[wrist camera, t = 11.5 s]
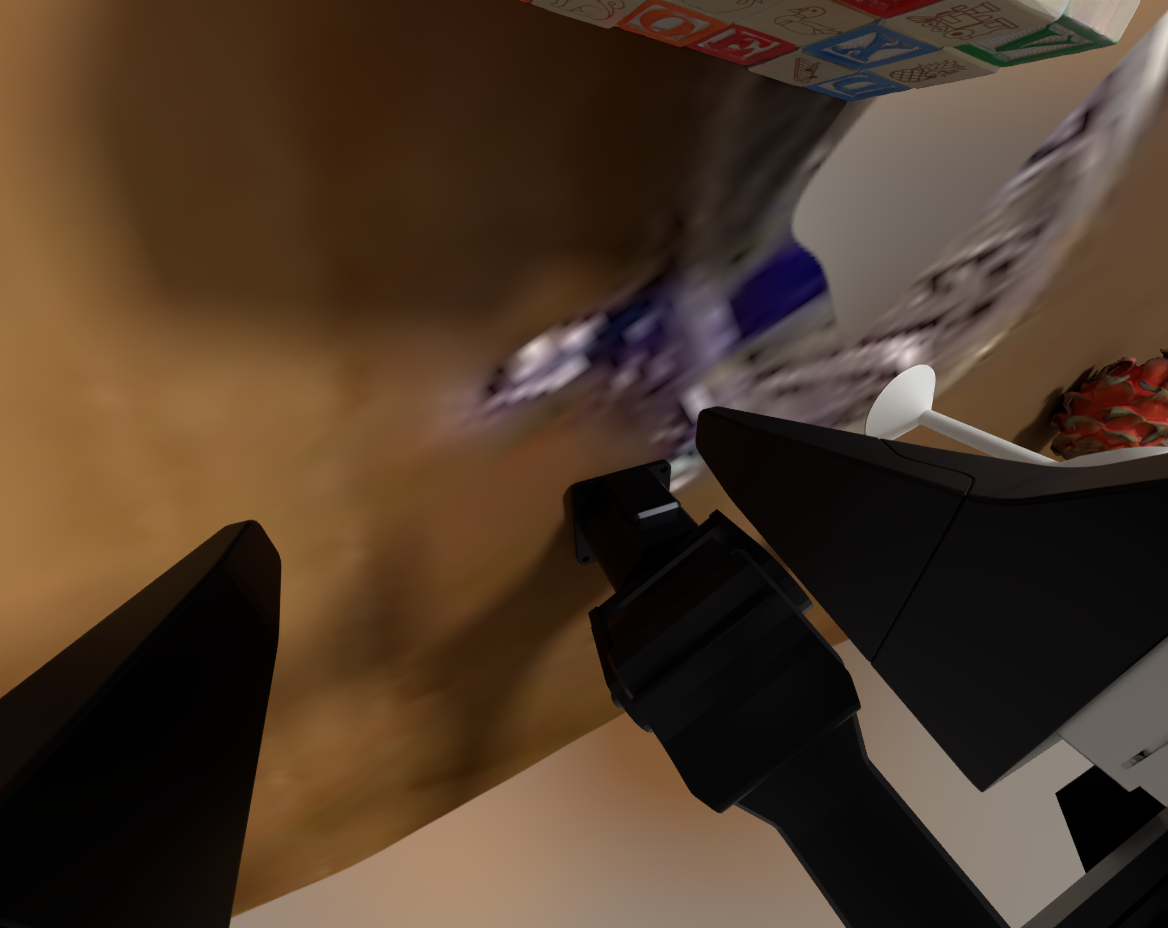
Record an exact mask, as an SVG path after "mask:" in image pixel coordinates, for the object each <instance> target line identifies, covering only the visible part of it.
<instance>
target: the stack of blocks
mask: <svg viewBox="0 0 1168 928" xmlns="http://www.w3.org/2000/svg"><path fill="white" fill-rule="evenodd" d="M519 1H522V2H528V3H531V4H533V5H535V6H538V7H541V8H544V9H547V10H549V11H552V12H555V13H558V14H561V15H564V16H568V17H571V18H574V19H577V20H580V21H584V22H587V23H590V24H594V25H597V26H600V27H603V28H612V27H613V26H616V27H619V28H621V29H623V30H625V31H630V32H634V33H637V34H642V35H644V36H647V37H649V38H652V39H656V40H659V41H662V42H665V43H668V44H671V45H675V46H678V47H683V46H687V47H688V48H691V49H694V50H697V51H700V52H703V53H705V54H709V55H712V56H715V57H719V58H723V59H726V60H728V61H732V62H735V63H737V64H741V65H747V68H748V70H749V71H751V72H754V73H757V74H760V75H764V76H767V77H770V78H773V79H776V80H779V81H782V82H785V83H788V84H791V85H794V86H799V87H805V88H808V89H810V90H813V91H817V92H819V93H823V94H826V95H830V96H833V97H836V98H840V99H843V100H846V101H854V100H860V99H865V98H869V97H873V96H880V95H885V94H889V93H894V92H901V91H905V90H910V89H912V88H916V89H919V88H924V87H929V86H934V85H940V84H945V83H951V82H956V81H960V80H965V79H970V78H975V77H980V76H986V75H989V74H993V73H996V72H997V71H998V70H999V68H1000V67H1007V66H1014V65H1019V64H1023V63H1030V62H1034V61H1039V60H1043V59H1048V58H1053V57H1058V56H1063V55H1069V54H1075V53H1080V52H1084V51H1088V50H1092V49H1098V48H1103V47H1107V46H1110V45H1114V44H1116V43H1117V42H1118V40H1119V39H1120V37H1121V35H1122V34H1123V32H1124V30H1125V29H1126V27H1127V25H1128V23H1129V21H1130V20H1131V18H1132V16H1133V14H1134V12H1135V11H1136V9H1137V7H1138V5H1139V3H1140V1H1141V0H519Z"/></svg>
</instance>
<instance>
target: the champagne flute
mask: <svg viewBox="0 0 1168 928" xmlns="http://www.w3.org/2000/svg"><path fill="white" fill-rule="evenodd" d="M934 387H935V373H934V371H933V369H932V368H931V367H929V366H927V365H917V366H913V367H911V368H909V369H907V370H905V371H904V372H902V373H901V374H899V375H898V376H897V377H896V378H894V379H893V380H892V381H891V382H890V383H889V384H888V385H887V386H886V387H885V389H884V390H883V391H882V392H881V394H880V395H879V396H878V398H877V399H876V401H875V402H874V404H873V406H872V408H871V410H870V412H869V415H868V418H867V422H866V431H865V432H866V435H867V436H873V437H877V438H878V439H881V438H883V439H888V440H894V439H896V438H898V437H899V436H901V435H903V434H904V433H906V432H908V431H910V430H911V429H913V428H915V427H917V426H918V425H920V424H921V425H923V426H926V427H928V428H930V429H932V430H935V431H937V432H939V433H941V434H944V435H946V436H948V437H951V438H953V439H955V440H957V441H960V442H962V443H964V444H966V445H969V446H971V447H973V448H975V449H978V450H980V451H982V452H984V453H987V454H989V455H991V456H994V457H996V458H1000V459H1006V460H1012V461H1019V462H1025V463H1032V464H1038V465H1046V466H1054V467H1090V466H1100V465H1106V464H1112V463H1117V462H1122V461H1128V460H1133V459H1138V458H1143V457H1148V456H1154V455H1159V454H1164V453H1168V447H1155V446H1148V447H1133V448H1122V449H1117V450H1111V451H1106V452H1100V453H1095V454H1089V455H1084V456H1078V457H1075V458H1073V459H1070V460H1067V461H1064V462H1061V463H1059V462H1057V461H1055V460H1052V459H1050V458H1047V457H1045V456H1042V455H1040V454H1037V453H1035V452H1032V451H1030V450H1028V449H1025V448H1023V447H1020V446H1018V445H1015V444H1013V443H1010V442H1008V441H1005V440H1003V439H1001V438H998V437H996V436H993V435H991V434H988V433H986V432H983V431H981V430H978V429H976V428H974V427H971V426H969V425H966V424H964V423H961V422H959V421H956V420H954V419H951V418H949V417H947V416H944V415H942V414H939V413H937V412H934V411H932V410H931V407H932V400H933V394H934Z"/></svg>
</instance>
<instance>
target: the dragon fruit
mask: <svg viewBox="0 0 1168 928" xmlns="http://www.w3.org/2000/svg"><path fill="white" fill-rule="evenodd" d="M1160 351H1161V353H1163V354H1164V355H1163V357H1156V358H1155V359H1153V358H1152V359H1150V360H1148V361H1147V362H1146V363H1145V364H1143V365H1141V366H1140V367H1138V366H1136V359H1135V358H1131V357H1123V358H1122V359H1121V360H1117V361H1118V362H1117V363H1115V362H1114V363H1113V365H1112V364H1111V365H1107V366H1106V367H1104V368H1103V369H1102V370H1101V371H1100V372H1099V373H1098V374H1097V375H1096V376H1095V377H1094V378H1092V379H1089V380H1087V381H1086V382H1084V383H1083V384H1082V386H1081V388H1080V391H1079V393H1078V392H1067V393H1065V394H1064V402H1063V406H1064V407H1065V409H1066V410H1065V411H1061V412H1058V413H1056V414H1054V416H1053V417H1052V419H1051V422H1050V424H1051V425H1052V427H1054V428H1058V430H1059V431H1060V432H1061V433H1060V434H1058V435H1057V436H1056V437H1055V438H1054V439H1053V441H1052V445H1051V447H1050V449H1051V450H1052V451H1053V453H1054V454H1055V455H1056V456H1060V455H1061V456H1062V457H1063V458H1064V459H1066V460H1070V459H1073V458H1075V457H1078V456H1084V455H1089V454H1095V453H1100V452H1106V451H1111V450H1117V449H1122V448H1133V447H1148V446H1155V447H1168V446H1167V445H1166V444H1164V442H1163V441H1164V440H1167V439H1168V350H1167V349H1160ZM1118 366H1119V367H1118ZM1117 367H1118V368H1117ZM1115 368H1116V369H1115ZM1114 369H1115V370H1114ZM1112 370H1114V371H1112ZM1111 371H1112V372H1111ZM1110 372H1111V373H1110ZM1108 373H1109V374H1108ZM1105 374H1107V375H1105ZM1102 376H1103V377H1102ZM1101 377H1102V378H1101Z"/></svg>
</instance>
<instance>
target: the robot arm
mask: <svg viewBox="0 0 1168 928" xmlns="http://www.w3.org/2000/svg"><path fill="white" fill-rule="evenodd" d="M695 442H696V448H697V450H698V452H699V453H700V455H701V456H702V458H703V459H704V461H705V462H706V464H707V465H708V467H709V468H710V470H711V471H712V473H713V474H714V476H715V477H716V479H717V480H718V481H719V483H720V484H721V486H722V487H723V489H724V490H725V492H726V493H727V494H728V496H729V497H730V499H731V500H732V501H733V502H734V503H735V505H736V506H737V507H738V508H739V509H740V511H741V512H742V513H743V514H744V515H745V517H746V518H747V519H748V520H749V521H750V522H751V524H752V525H753V526H754V527H755V528H756V529H757V531H758V532H759V533H760V534H761V535H762V537H763V538H764V539H765V540H766V541H767V542H768V544H769V545H770V546H771V547H772V548H773V550H774V551H775V552H776V553H777V554H778V555H779V557H780V558H781V559H782V560H783V561H784V562H785V564H786V565H787V566H788V567H789V568H790V570H791V571H792V572H793V573H794V574H795V575H796V577H797V578H798V579H799V580H800V581H801V582H802V584H803V585H804V586H805V587H806V588H807V590H808V591H809V592H810V593H811V594H812V595H813V597H814V598H815V599H816V600H817V601H818V602H819V604H820V605H821V606H822V607H823V608H824V610H825V611H826V612H827V613H828V614H829V615H830V617H831V618H832V619H833V620H834V621H835V623H836V624H837V625H838V626H839V627H840V628H841V630H842V631H843V632H844V633H845V634H846V635H847V637H848V638H849V639H850V640H851V641H852V643H853V644H854V645H855V646H856V647H857V648H858V649H859V651H860V652H861V653H862V654H863V655H864V657H865V658H866V659H867V660H868V661H869V662H871V665H872V666H873V668H874V669H875V670H876V671H877V672H878V673H879V675H880V676H881V677H882V678H883V679H884V681H885V682H886V683H887V684H888V685H889V687H890V688H891V689H892V690H893V691H894V692H895V693H896V695H897V696H898V697H899V698H900V699H901V700H902V702H903V703H904V704H905V705H906V706H907V708H908V709H909V710H910V711H911V712H912V714H913V715H914V716H915V717H916V718H917V719H918V721H919V722H920V723H921V724H922V725H923V727H924V728H925V729H926V730H927V731H928V732H929V734H930V735H931V736H932V737H933V738H934V740H935V741H936V742H937V743H938V744H939V745H940V747H941V748H942V749H943V750H944V751H945V752H946V754H947V755H948V756H949V757H950V758H951V760H952V761H953V762H954V763H955V764H956V766H958V768H959V769H960V770H961V771H962V772H963V774H964V775H965V776H966V777H967V778H968V779H969V780H970V782H971V783H972V784H973V785H974V786H975V787H976V788H977V789H978V790H980V791H981V792H984V791H986V790H987V789H989V788H990V787H992V786H993V785H995V784H996V783H998V782H999V781H1001V780H1002V779H1004V778H1005V777H1007V776H1008V775H1010V774H1011V773H1013V772H1014V771H1016V770H1017V769H1019V768H1020V767H1022V766H1023V765H1025V764H1026V763H1028V762H1029V761H1031V760H1032V759H1033V758H1035V757H1037V756H1038V755H1040V754H1041V753H1043V752H1044V751H1046V750H1047V749H1049V748H1050V747H1051V746H1053V745H1054V744H1056V743H1057V742H1059V741H1060V740H1062V739H1063V740H1065V741H1066V742H1067V743H1068V744H1069V745H1071V746H1072V747H1073V748H1074V749H1076V750H1077V751H1078V752H1079V753H1081V754H1082V755H1083V756H1084V757H1086V758H1087V759H1088V760H1089V761H1090V762H1092V763H1093V764H1094V766H1092V767H1091V768H1090V769H1089V770H1087V771H1086V772H1084V773H1083V774H1081V775H1080V776H1079V777H1077V778H1076V779H1074V780H1073V781H1072V782H1070V783H1069V784H1067V785H1066V786H1065V787H1063V788H1062V789H1061V790H1059V791H1058V792H1056V793H1055V794H1056V796H1057V799H1058V802H1059V805H1060V807H1061V810H1062V812H1063V815H1064V817H1065V820H1066V823H1067V826H1068V828H1069V831H1070V833H1071V836H1072V839H1073V841H1074V844H1075V846H1076V849H1077V852H1078V854H1079V857H1080V860H1081V862H1082V865H1083V867H1084V870H1085V872H1086V874H1085V875H1084V876H1083V877H1082V878H1080V879H1079V880H1078V881H1077V882H1075V883H1074V884H1073V885H1072V886H1071V887H1069V888H1068V889H1067V890H1066V891H1065V892H1063V893H1062V894H1061V895H1060V896H1059V897H1057V898H1056V899H1055V900H1054V901H1053V902H1051V903H1050V904H1049V905H1048V906H1047V907H1045V908H1044V909H1043V910H1042V911H1041V912H1039V913H1038V914H1037V915H1036V916H1035V917H1033V918H1032V919H1031V920H1030V921H1028V922H1027V923H1026V924H1025V925H1024V926H1022V927H1021V928H1168V453H1164V454H1159V455H1154V456H1148V457H1143V458H1138V459H1133V460H1128V461H1122V462H1117V463H1112V464H1106V465H1100V466H1090V467H1054V466H1046V465H1038V464H1032V463H1025V462H1019V461H1012V460H1006V459H1000V458H993V457H987V456H980V455H974V454H967V453H961V452H955V451H949V450H943V449H937V448H931V447H926V446H920V445H915V444H909V443H904V442H899V441H893V440H888V439H883V438H881V439H878V438H877V437H873V436H867V435H862V434H857V433H852V432H847V431H842V430H837V429H832V428H826V427H821V426H816V425H811V424H806V423H801V422H796V421H791V420H785V419H780V418H775V417H770V416H765V415H760V414H755V413H750V412H744V411H739V410H734V409H729V408H724V407H719V406H716V407H711V408H707V409H703V410H702V411H700V413H699V415H698V421H697V430H696V440H695ZM662 467H664V468H663V469H661V468H662ZM670 475H671V465H670V464H669V463H668V462H667V461H666V460H659V461H655V462H651V463H648V464H644V465H640V466H636V467H632V468H629V469H625V470H621V471H618V472H614V473H610V474H607V475H603V476H600V477H596V478H592V479H588V480H585V481H581V482H578V483H575V484H574V485H573V486H572V488H571V500H572V511H573V523H574V534H575V546H576V557H577V560H578V562H579V563H580V564H581V565H586V564H589V563H592V562H595V561H598V562H599V564H600V566H601V568H602V569H603V571H604V573H605V575H606V576H607V578H608V580H609V582H610V583H611V585H612V587H613V589H614V591H615V592H616V593H615V594H614V595H612V596H611V597H610V598H609V599H608V600H606V601H605V602H604V603H603V604H601V605H600V606H599V607H597V606H596V607H595V608H594V609H592V610H591V611H590V612H589V613H588V614H589V618H590V621H591V625H592V626H591V629H592V633H593V636H594V640H595V644H596V647H597V651H598V655H599V658H600V662H601V666H602V669H603V673H604V677H605V680H606V684H607V686H608V688H609V690H610V691H611V698H612V701H613V703H614V704H615V705H616V707H618V708H620V709H623V710H625V711H626V712H627V713H628V715H629V716H630V717H631V718H632V719H633V721H634V722H635V723H636V724H637V725H638V726H640V727H641V728H642V729H643V730H645V731H646V732H650V733H652V732H654V734H655V735H656V736H657V738H658V739H659V741H660V742H661V744H662V745H663V747H664V748H665V750H666V752H667V753H668V755H669V757H670V758H671V760H672V761H673V763H674V765H675V766H676V768H677V770H678V772H679V773H680V775H681V777H682V778H683V780H684V782H685V784H686V785H687V787H688V789H689V790H690V792H691V793H692V794H693V795H694V796H695V797H696V798H698V799H699V800H701V801H702V802H703V803H705V804H706V805H707V806H709V807H710V808H711V809H713V810H714V811H716V812H718V813H723V812H724V811H725V810H727V809H728V808H729V807H731V806H732V805H736V806H737V807H739V808H741V809H743V810H744V811H747V812H748V813H750V814H752V815H754V816H756V817H757V818H759V819H761V820H763V821H765V822H767V823H768V824H770V825H772V826H773V827H775V828H776V829H777V831H778V832H779V833H780V835H781V836H782V837H783V839H784V840H785V841H786V843H787V844H788V845H789V847H790V848H791V850H792V851H793V853H794V854H795V855H796V857H797V858H798V860H799V861H800V863H801V864H802V865H803V867H804V868H805V870H806V871H807V873H808V874H809V875H810V877H811V878H812V880H813V881H814V883H815V884H816V886H817V887H818V888H819V890H820V891H821V893H822V894H823V896H824V897H825V898H826V900H827V901H828V903H829V904H830V906H831V907H832V908H833V910H834V911H835V913H836V914H837V915H838V917H839V918H840V920H841V921H842V923H843V924H844V925H845V927H846V928H1011V927H1010V926H1009V925H1008V924H1007V923H1006V921H1005V920H1004V919H1003V918H1002V917H1001V916H1000V914H999V913H998V912H997V911H996V910H995V909H994V907H993V906H992V905H991V904H990V902H989V901H988V900H987V899H986V898H985V896H984V895H983V894H982V893H981V892H980V891H979V889H978V888H977V887H976V886H975V885H974V883H973V882H972V881H971V880H970V879H969V877H968V876H967V875H966V874H965V873H964V872H963V870H962V869H961V868H960V867H959V866H958V864H957V863H956V862H955V861H954V860H953V859H952V857H951V856H950V855H949V854H948V852H947V851H946V850H945V849H944V848H943V847H942V845H941V844H940V843H939V842H938V841H937V839H936V838H935V837H934V836H933V835H932V833H931V832H930V831H929V830H928V829H927V827H926V826H925V825H924V824H923V823H922V822H921V820H920V819H919V818H918V817H917V816H916V814H915V813H914V812H913V811H912V810H911V808H910V807H909V806H908V805H907V804H906V802H905V801H904V800H903V799H902V798H901V797H900V796H899V794H898V793H897V792H896V791H895V789H894V788H893V787H892V786H891V785H890V783H889V782H888V781H887V780H886V779H885V778H884V776H883V775H882V774H881V773H880V772H879V770H878V769H877V768H876V767H875V766H874V765H873V763H872V762H871V761H870V760H869V758H868V756H867V752H866V749H865V745H864V741H863V737H862V733H861V729H860V725H859V721H858V717H857V713H856V712H857V711H859V710H860V709H861V705H860V701H859V698H858V695H857V692H856V689H855V686H854V683H853V680H852V678H851V675H850V674H849V672H848V671H847V669H846V668H845V666H844V663H843V661H842V659H841V658H840V656H839V655H838V654H837V652H836V651H835V650H834V649H833V648H832V647H831V646H830V644H829V643H828V642H827V641H826V640H825V639H824V638H823V637H822V635H821V634H820V633H819V632H818V631H817V630H816V629H815V627H814V626H813V625H812V624H811V623H810V622H809V621H808V619H807V618H806V617H805V616H804V614H805V613H806V612H808V611H809V610H810V609H812V608H813V607H814V606H813V604H812V602H811V600H810V599H809V597H808V596H807V595H806V593H805V592H804V591H803V590H802V588H801V587H800V586H799V585H798V584H797V582H796V581H795V580H794V579H793V578H792V577H791V576H790V574H789V573H788V572H787V571H786V570H785V569H784V568H783V567H782V566H781V565H780V564H779V563H778V562H777V561H776V560H775V559H774V558H773V557H772V556H771V555H770V554H769V553H768V552H767V551H766V550H765V549H764V548H763V547H762V546H761V545H759V544H758V543H757V542H756V541H755V540H753V539H752V538H751V537H750V536H749V535H747V534H746V533H745V532H744V531H743V530H741V529H740V528H739V527H738V526H737V525H735V524H734V523H733V522H732V521H731V520H729V519H728V518H727V517H726V516H725V515H723V514H722V513H721V512H720V511H719V510H717V509H716V510H715V511H714V512H712V513H711V514H710V515H709V518H708V519H707V520H705V521H704V522H703V523H702V524H700V525H698V524H697V523H696V522H695V521H694V520H693V519H692V518H691V517H690V516H689V514H688V513H687V512H686V511H685V510H684V509H683V508H682V507H681V503H680V502H679V501H678V500H677V499H676V498H675V496H674V495H673V494H672V493H671V492H670V491H669V488H670ZM581 489H582V491H581V492H579V493H577V492H578V491H579V490H581ZM585 556H586V557H585ZM280 592H281V559H280V556H279V553H278V551H277V550H276V548H275V547H274V545H273V543H272V542H271V540H270V539H269V537H268V536H267V534H266V532H265V531H264V529H263V528H262V526H261V525H260V524H259V523H258V522H257V521H255V520H247V521H242V522H238V523H234V524H230V525H227V526H225V527H223V528H222V529H221V530H220V531H218V532H217V533H216V534H214V535H213V536H212V537H210V538H209V539H208V540H206V541H205V542H204V543H203V544H201V545H200V546H199V547H197V548H196V549H195V550H193V551H192V552H191V553H190V554H188V555H187V556H186V557H184V558H183V559H182V560H180V561H179V562H178V563H176V564H175V565H174V566H173V567H171V568H170V569H169V570H167V571H166V572H165V573H163V574H162V575H161V576H160V577H158V578H157V579H156V580H154V581H153V582H152V583H150V584H149V585H148V586H146V587H145V588H144V589H143V590H141V591H140V592H139V593H137V594H136V595H135V596H133V597H132V598H131V599H130V600H128V601H127V602H126V603H124V604H123V605H122V606H120V607H119V608H118V609H116V610H115V611H114V612H113V613H111V614H110V615H109V616H107V617H106V618H105V619H103V620H102V621H101V622H100V623H98V624H97V625H96V626H94V627H93V628H92V629H90V630H89V631H88V632H86V633H85V634H84V635H83V636H81V637H80V638H79V639H77V640H76V641H75V642H73V643H72V644H71V645H70V646H68V647H67V648H66V649H64V650H63V651H62V652H60V653H59V654H58V655H56V656H55V657H54V658H53V659H51V660H50V661H49V662H47V663H46V664H45V665H43V666H42V667H41V668H40V669H38V670H37V671H36V672H34V673H33V674H32V675H30V676H29V677H28V678H26V679H25V680H24V681H23V682H21V683H20V684H19V685H17V686H16V687H15V688H13V689H12V690H11V691H10V692H8V693H7V694H6V695H4V696H3V697H2V698H0V928H229V926H230V920H231V915H232V909H233V903H234V897H235V891H236V886H237V880H238V874H239V868H240V862H241V857H242V851H243V845H244V839H245V833H246V828H247V822H248V816H249V810H250V804H251V799H252V793H253V787H254V781H255V775H256V770H257V764H258V758H259V752H260V746H261V741H262V735H263V729H264V723H265V718H266V712H267V706H268V700H269V694H270V689H271V683H272V677H273V671H274V665H275V660H276V654H277V647H278V639H279V622H280Z"/></svg>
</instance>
